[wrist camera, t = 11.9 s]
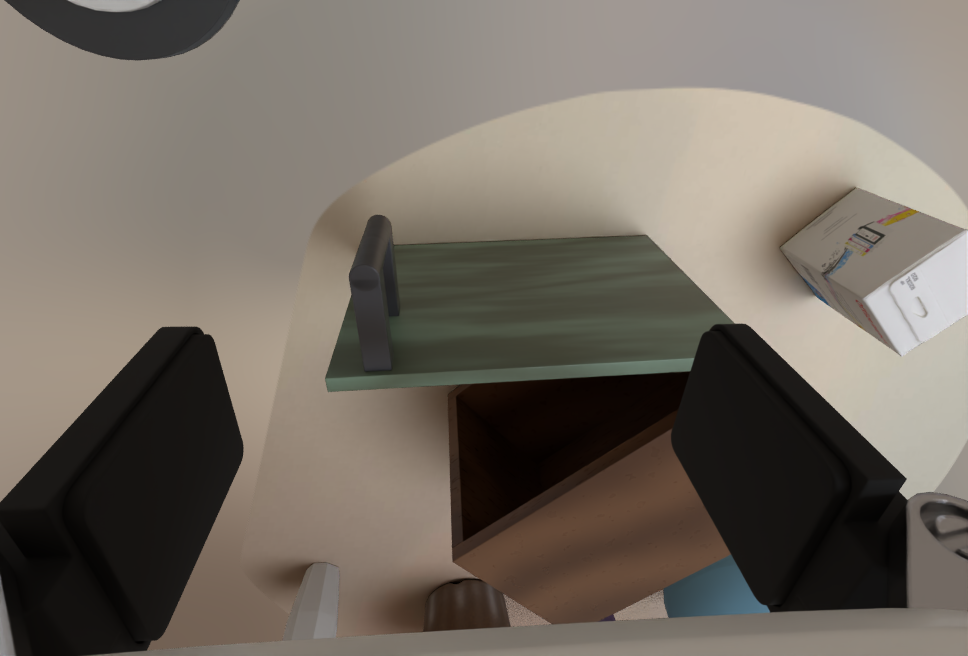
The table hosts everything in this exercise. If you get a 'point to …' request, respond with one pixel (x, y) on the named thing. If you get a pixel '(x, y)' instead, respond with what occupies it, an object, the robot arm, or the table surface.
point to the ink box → (885, 268)
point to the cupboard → (575, 492)
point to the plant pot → (465, 607)
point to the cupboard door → (514, 312)
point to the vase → (712, 593)
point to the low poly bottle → (315, 605)
